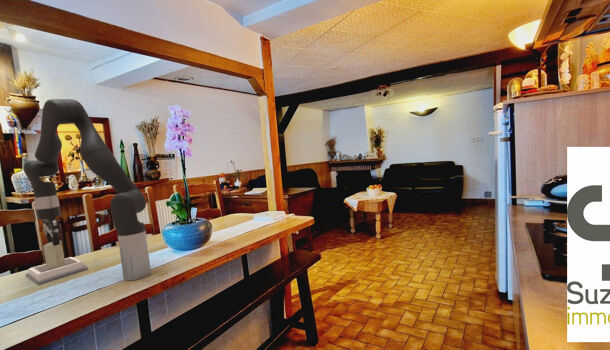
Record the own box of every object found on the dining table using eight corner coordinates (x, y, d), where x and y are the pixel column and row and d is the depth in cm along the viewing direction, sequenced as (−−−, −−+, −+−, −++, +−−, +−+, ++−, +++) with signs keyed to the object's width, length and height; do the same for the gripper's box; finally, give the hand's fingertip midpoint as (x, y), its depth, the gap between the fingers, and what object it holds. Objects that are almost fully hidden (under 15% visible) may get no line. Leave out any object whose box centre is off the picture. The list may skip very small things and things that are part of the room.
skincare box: (60, 271, 118) (55, 243, 117) (46, 274, 116) (42, 246, 115) (65, 266, 123) (61, 240, 122) (53, 269, 122) (49, 242, 121)
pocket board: (88, 269, 120) (86, 261, 120) (38, 285, 107) (36, 276, 107) (72, 262, 132) (71, 255, 132) (25, 276, 119) (24, 268, 118)
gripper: (31, 208, 119) (37, 244, 120) (40, 209, 111) (46, 248, 112) (54, 204, 125) (60, 239, 126) (64, 205, 117) (70, 242, 118)
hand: (53, 243), depth 119 cm, fingers open, 8 cm apart
